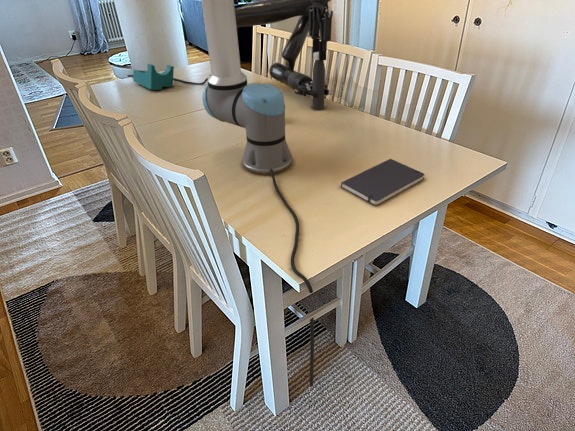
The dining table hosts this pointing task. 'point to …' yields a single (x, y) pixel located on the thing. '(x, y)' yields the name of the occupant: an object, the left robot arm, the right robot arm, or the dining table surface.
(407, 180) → the notebook
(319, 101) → the bottle
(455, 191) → the dining table surface
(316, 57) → the cap
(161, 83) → the teal notched cradle block
